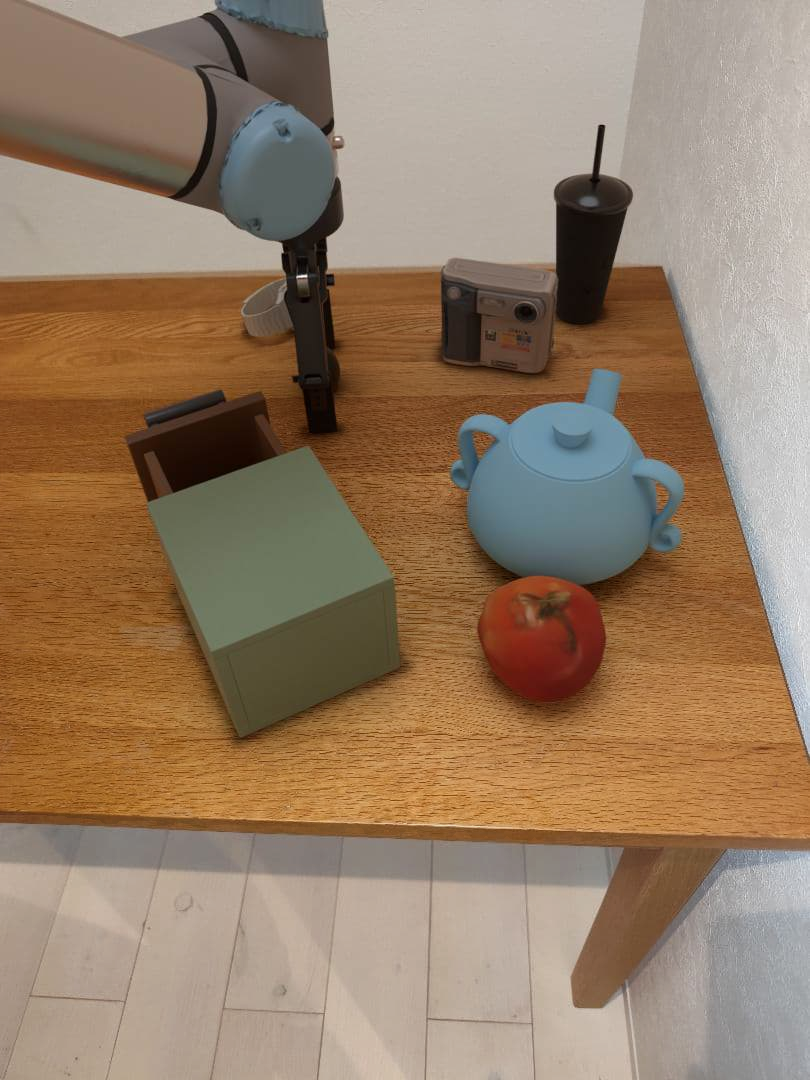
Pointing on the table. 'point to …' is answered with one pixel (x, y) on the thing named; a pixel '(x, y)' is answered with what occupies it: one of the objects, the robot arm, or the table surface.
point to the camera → (497, 315)
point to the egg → (333, 367)
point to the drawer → (201, 441)
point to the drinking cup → (587, 238)
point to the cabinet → (279, 587)
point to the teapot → (566, 489)
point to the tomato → (542, 637)
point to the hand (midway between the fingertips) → (322, 385)
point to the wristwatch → (272, 318)
